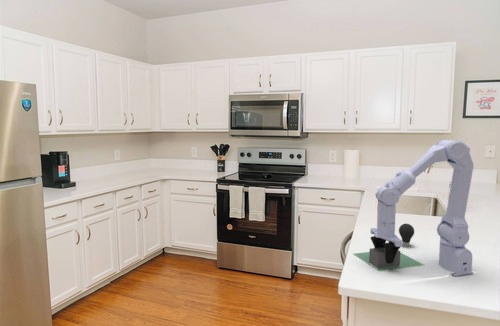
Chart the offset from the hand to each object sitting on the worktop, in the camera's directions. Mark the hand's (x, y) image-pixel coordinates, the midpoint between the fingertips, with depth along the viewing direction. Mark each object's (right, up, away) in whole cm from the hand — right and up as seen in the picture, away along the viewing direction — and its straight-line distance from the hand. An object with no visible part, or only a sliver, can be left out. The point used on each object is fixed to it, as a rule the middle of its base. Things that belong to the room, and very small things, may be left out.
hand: (384, 259), depth 119 cm
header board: (+3, -2, +5) cm, 6 cm away
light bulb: (+16, -1, +19) cm, 25 cm away
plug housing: (0, -1, 0) cm, 1 cm away
